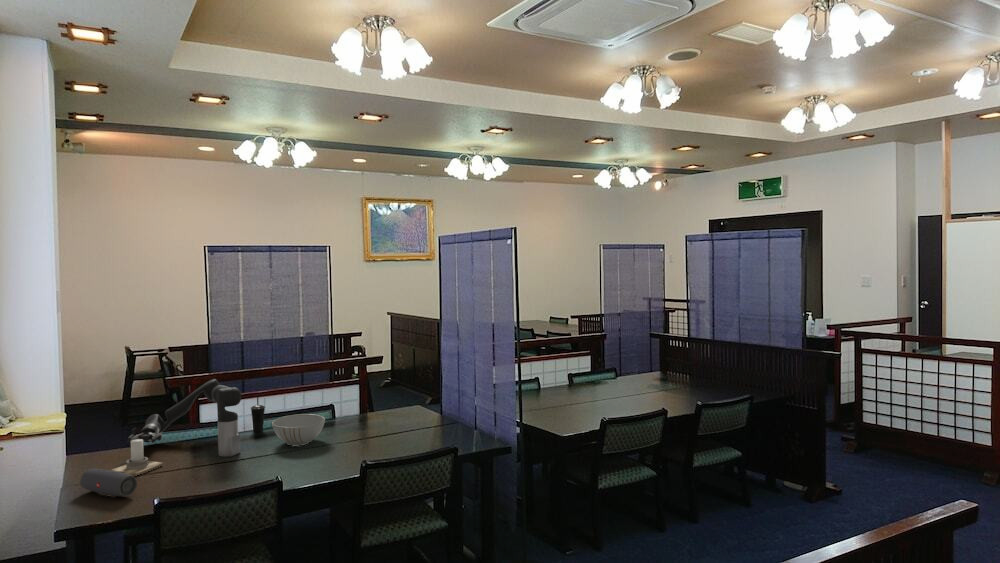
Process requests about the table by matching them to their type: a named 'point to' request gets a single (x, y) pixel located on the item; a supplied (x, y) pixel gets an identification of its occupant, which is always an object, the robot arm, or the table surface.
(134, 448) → the duct sleeve
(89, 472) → the bluetooth speaker
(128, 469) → the duct base
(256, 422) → the drinking cup
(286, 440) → the decorative bowl
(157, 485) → the table surface
